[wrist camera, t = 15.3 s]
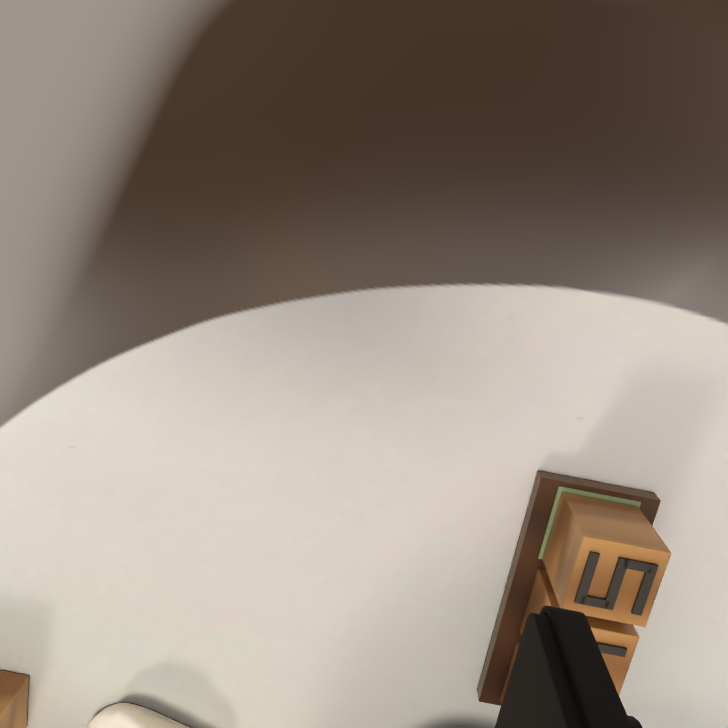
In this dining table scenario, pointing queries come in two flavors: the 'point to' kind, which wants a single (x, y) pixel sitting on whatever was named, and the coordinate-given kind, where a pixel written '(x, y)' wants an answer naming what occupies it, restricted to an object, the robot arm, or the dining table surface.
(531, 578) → the word rack
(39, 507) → the dining table surface
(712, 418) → the dining table surface
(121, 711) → the rose
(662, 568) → the letter block S
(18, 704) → the letter block O
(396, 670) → the dining table surface
